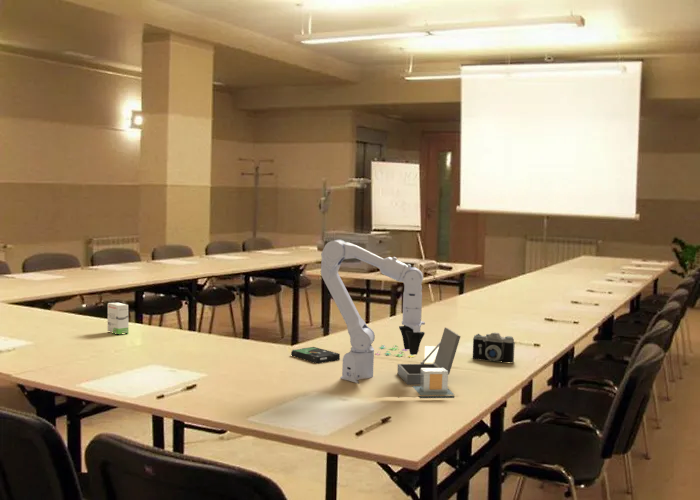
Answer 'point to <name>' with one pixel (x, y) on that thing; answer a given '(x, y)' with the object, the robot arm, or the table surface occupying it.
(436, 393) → the mat
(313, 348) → the disk drive
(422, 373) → the module
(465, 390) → the table surface
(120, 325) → the ink box
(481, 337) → the camera
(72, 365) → the table surface
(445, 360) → the case
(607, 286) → the table surface
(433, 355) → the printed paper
